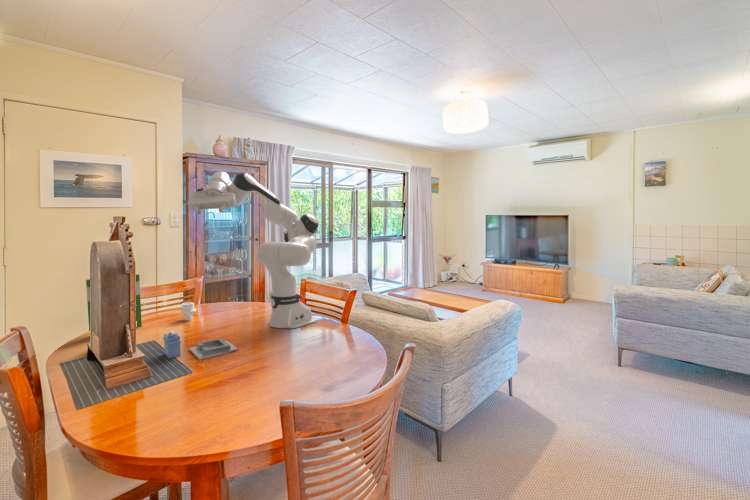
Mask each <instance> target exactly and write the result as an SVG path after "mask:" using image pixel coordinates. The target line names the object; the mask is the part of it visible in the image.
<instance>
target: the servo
mask: <svg viewBox="0 0 750 500" xmlns="http://www.w3.org/2000/svg"><path fill="white" fill-rule="evenodd" d="M180 337H181V335H179V333H177V332H176V331H174V330H172V329H171V330H169V332H168V333H163V337H162V338H163V339H162V340H163V341H164V342H163V343H164V345H163V347H164V355H165V356H166V358H167V359H172V358H175V357H177V358H178V357H180V356H181V343H182V341H181V338H180Z"/></svg>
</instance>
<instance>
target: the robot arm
mask: <svg viewBox="0 0 750 500" xmlns="http://www.w3.org/2000/svg"><path fill="white" fill-rule="evenodd" d="M252 193H255V194H257V195H258V196H259V197H261V198H262V199H264V200H265V203H264V207H263V216H264V217H265V219H266V220H267V221H268V222H270V223H271V224H274V225H277V226H279V227H282V228H284V229H285V230H284V231H283V236H284V237H283V239H284V241H266V242H263V243H260V245H259V246H258V248H257V251H256V253H257V254H256V255H257V258H258V260H259V262H260V263H261V264H263V265H264V267H265V268H266V269H267V271H268V273H269V276H270V279H271V295H270V296H271V297H270V304H271V313H270V317H269V322H268V326H269V327H272V328H277V329H296V328H300V327H303V326H306V325H311V324H313V323H314V324H315V323H317V318H316V317H315V316H313V315H312V310H311V308H310V307H309V306H307V305H306V304H305V303H303V302H302V301H300V300H304V295H303V294H298V293H297V279H296V276H295V275H294V274H293V273H290V271H289V270H288V268H287V267H301V266H306V265H307V264H309V262H310V260H311V256H312V253H314V251H315V250H316V249H317V246H318V243H317V239H316V238H315V237H314V234H315V233H317V231H318V228H319V220H318V219H317V218H316V217H315V216H314V215H312V214H311V213H304V214H303V215H302V216H300V218H299V216H298V214H297V213H296V212H295V211H294V210H293V209H291V208H289V207H288V206H286V205H284V204H283V203H281V200H280V197H279V196H278V195H276V193H274V192H273V191H271V190H270V189H269V188H267V187H266V186H265V185H263V184H261V183H260V182H259V181H258V180H257V179H255V177H253V176H252V175H251V174H249V173H247V172H240V173H237V174H236V176H235V177H234V179H233V180H232V181H231V179H230V175H229V174H228V173H227V172H224V171H222V170H221V171H216V172H214V173H213V174H212V175H211V177H210V178H209V181H208V184H207V185H206V186H204V187H201V188H198V189H197V188H196V189H194V190H193V194H192V195H190V197H189V198H188V201H187V207H188V209H189V210H190V211H195V213H196V215H201V214H202V210H212V209H213V210H214V209H218V213H224V211H225V210H226V209H229V208H234V207H235V208H236V207H238V208H239V207H240V206H241V205H242V204H243V203H244V202H245V200H246V199H247V198H248V197H249V195H250V194H252Z"/></svg>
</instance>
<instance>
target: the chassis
mask: <svg viewBox="0 0 750 500" xmlns="http://www.w3.org/2000/svg"><path fill="white" fill-rule="evenodd" d="M238 350H239V349H238V347H236V346H234V344H232V343H231V342H230V341H228V340H227V339H226V340H224V339H223V338H221V337H219V338H213V339H209V340H204V341H199V342H196V346H192V347H189V352H191V354H193V355H194V356H195V357H196V359H198V360H200V361H201V360H204V359H208V358H212V357H216V356H221V355H226V354H229V353H234V352H237V351H238Z"/></svg>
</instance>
